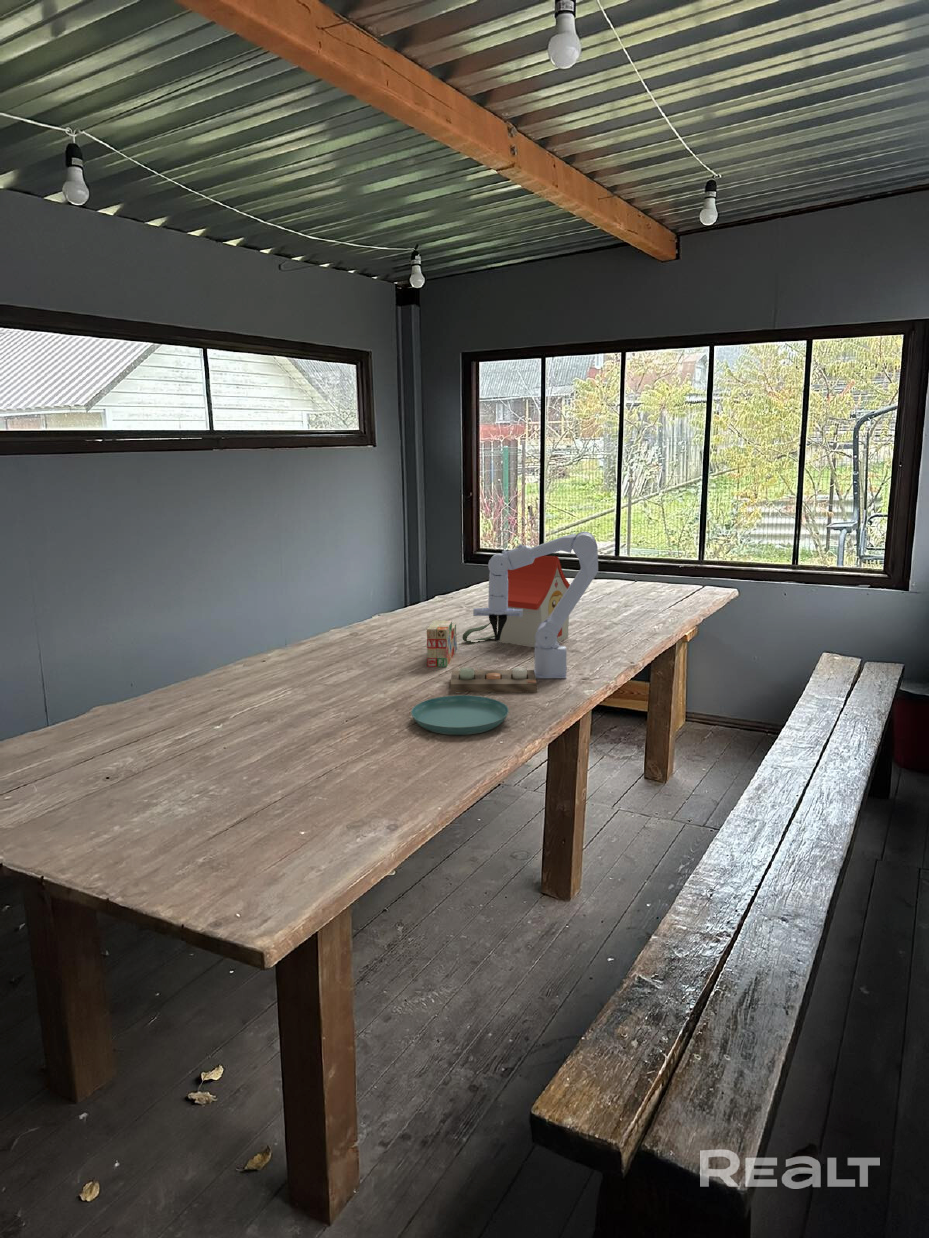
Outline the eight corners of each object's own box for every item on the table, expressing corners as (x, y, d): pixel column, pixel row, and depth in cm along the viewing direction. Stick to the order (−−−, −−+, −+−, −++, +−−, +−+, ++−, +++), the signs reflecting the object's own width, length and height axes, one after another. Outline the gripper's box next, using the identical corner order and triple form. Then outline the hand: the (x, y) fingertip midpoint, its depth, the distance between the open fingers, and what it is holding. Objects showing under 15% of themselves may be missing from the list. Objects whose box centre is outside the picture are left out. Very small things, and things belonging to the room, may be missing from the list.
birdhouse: (535, 655, 274) (536, 563, 267) (460, 643, 290) (459, 557, 284) (584, 634, 302) (586, 550, 296) (513, 624, 319) (513, 545, 312)
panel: (533, 678, 247) (533, 669, 246) (537, 692, 233) (537, 682, 233) (452, 678, 247) (451, 669, 247) (450, 692, 234) (450, 683, 233)
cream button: (526, 677, 242) (526, 667, 241) (527, 681, 238) (527, 671, 237) (512, 677, 242) (512, 667, 241) (513, 681, 238) (513, 671, 237)
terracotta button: (500, 682, 242) (500, 672, 241) (500, 686, 238) (500, 676, 238) (486, 682, 242) (486, 672, 242) (486, 686, 238) (486, 676, 238)
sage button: (474, 677, 242) (473, 667, 241) (474, 681, 238) (474, 671, 237) (460, 677, 242) (460, 667, 241) (459, 681, 238) (459, 671, 237)
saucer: (399, 714, 217) (398, 702, 216) (485, 702, 225) (485, 690, 225) (430, 745, 195) (430, 731, 194) (525, 730, 204) (525, 717, 203)
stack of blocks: (438, 650, 281) (437, 614, 279) (457, 650, 280) (456, 614, 278) (427, 667, 261) (426, 628, 258) (447, 667, 260) (446, 628, 257)
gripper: (473, 597, 243) (472, 642, 246) (523, 597, 243) (522, 643, 246) (473, 592, 250) (472, 637, 253) (522, 593, 250) (521, 637, 253)
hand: (497, 639), depth 250 cm, fingers closed
